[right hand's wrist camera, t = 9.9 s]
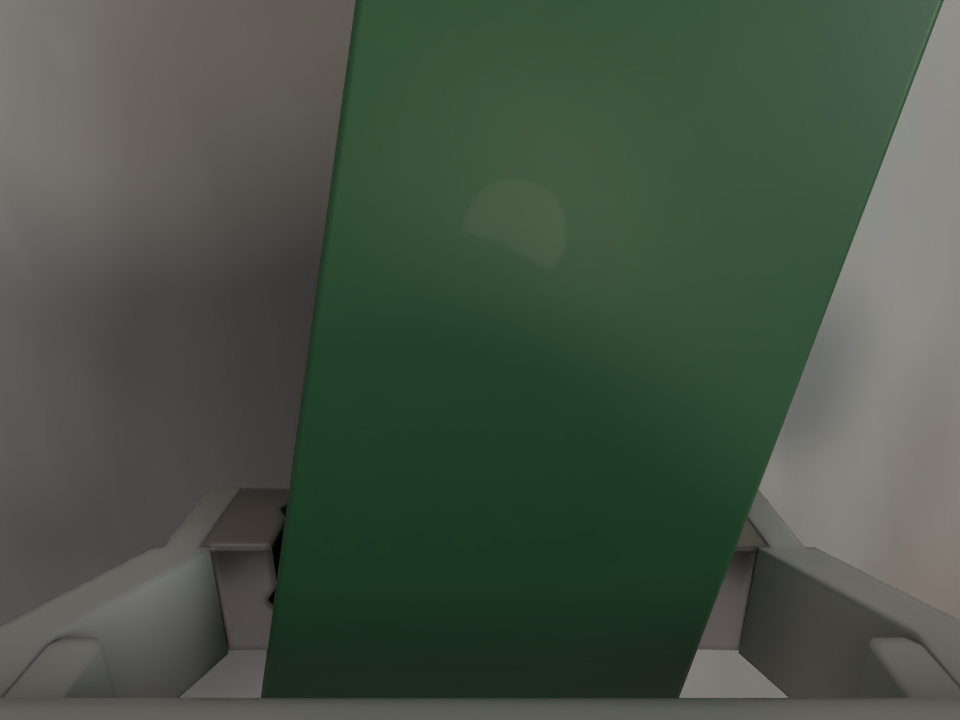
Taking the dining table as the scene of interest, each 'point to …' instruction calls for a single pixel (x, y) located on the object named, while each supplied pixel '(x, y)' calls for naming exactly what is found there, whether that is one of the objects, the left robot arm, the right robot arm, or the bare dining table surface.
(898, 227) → the dining table surface
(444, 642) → the elongated green cuboid
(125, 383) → the dining table surface
